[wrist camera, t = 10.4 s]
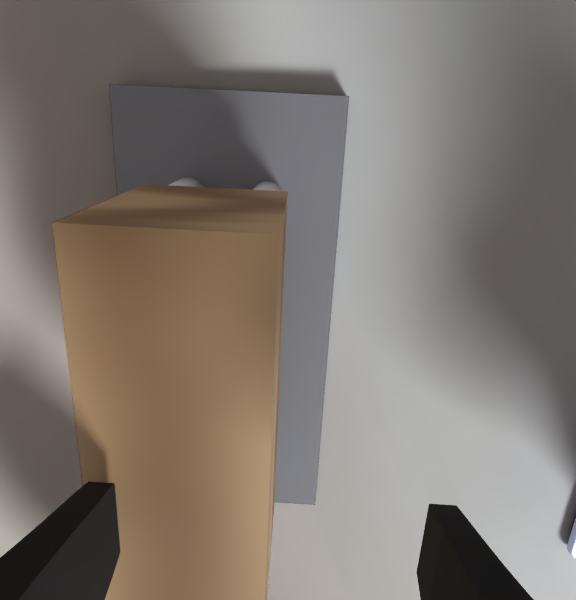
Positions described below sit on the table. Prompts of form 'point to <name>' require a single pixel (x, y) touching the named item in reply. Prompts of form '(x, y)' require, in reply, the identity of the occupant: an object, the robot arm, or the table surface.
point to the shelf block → (179, 380)
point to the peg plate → (257, 176)
